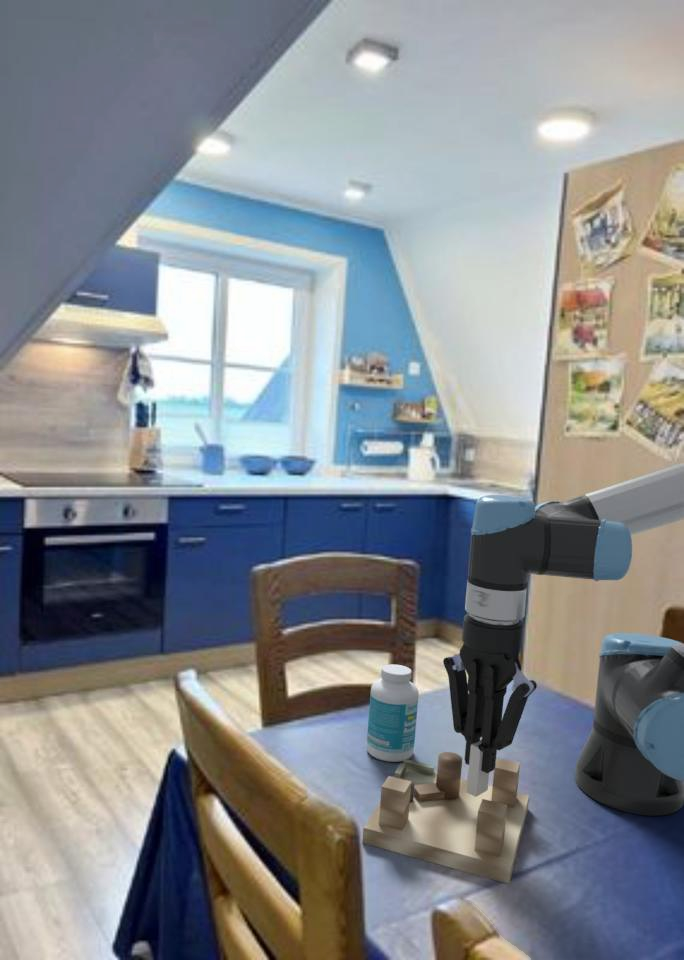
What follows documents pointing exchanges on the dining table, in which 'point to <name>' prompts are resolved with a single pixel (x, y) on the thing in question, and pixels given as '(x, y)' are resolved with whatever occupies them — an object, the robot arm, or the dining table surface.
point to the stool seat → (452, 821)
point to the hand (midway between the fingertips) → (477, 791)
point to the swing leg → (443, 779)
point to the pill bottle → (392, 715)
